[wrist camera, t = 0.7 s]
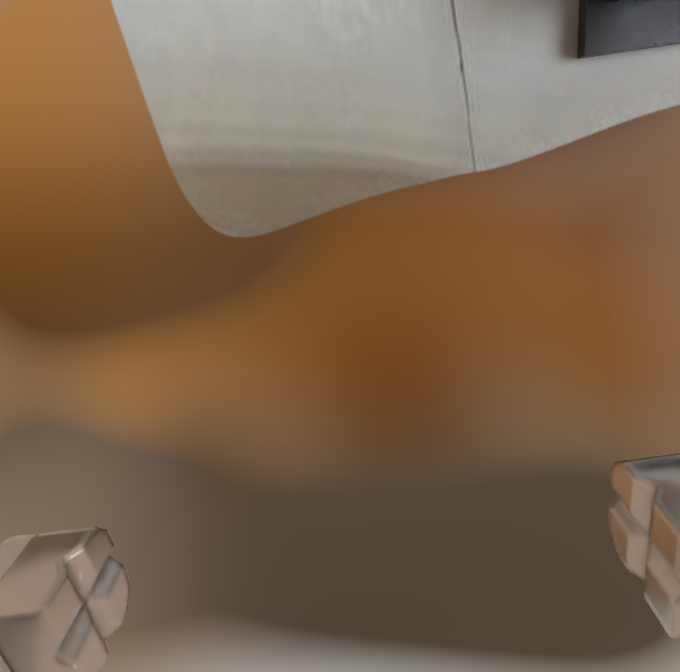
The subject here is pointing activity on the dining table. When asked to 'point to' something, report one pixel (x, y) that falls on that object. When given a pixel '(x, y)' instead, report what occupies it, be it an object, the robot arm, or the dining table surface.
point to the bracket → (626, 25)
